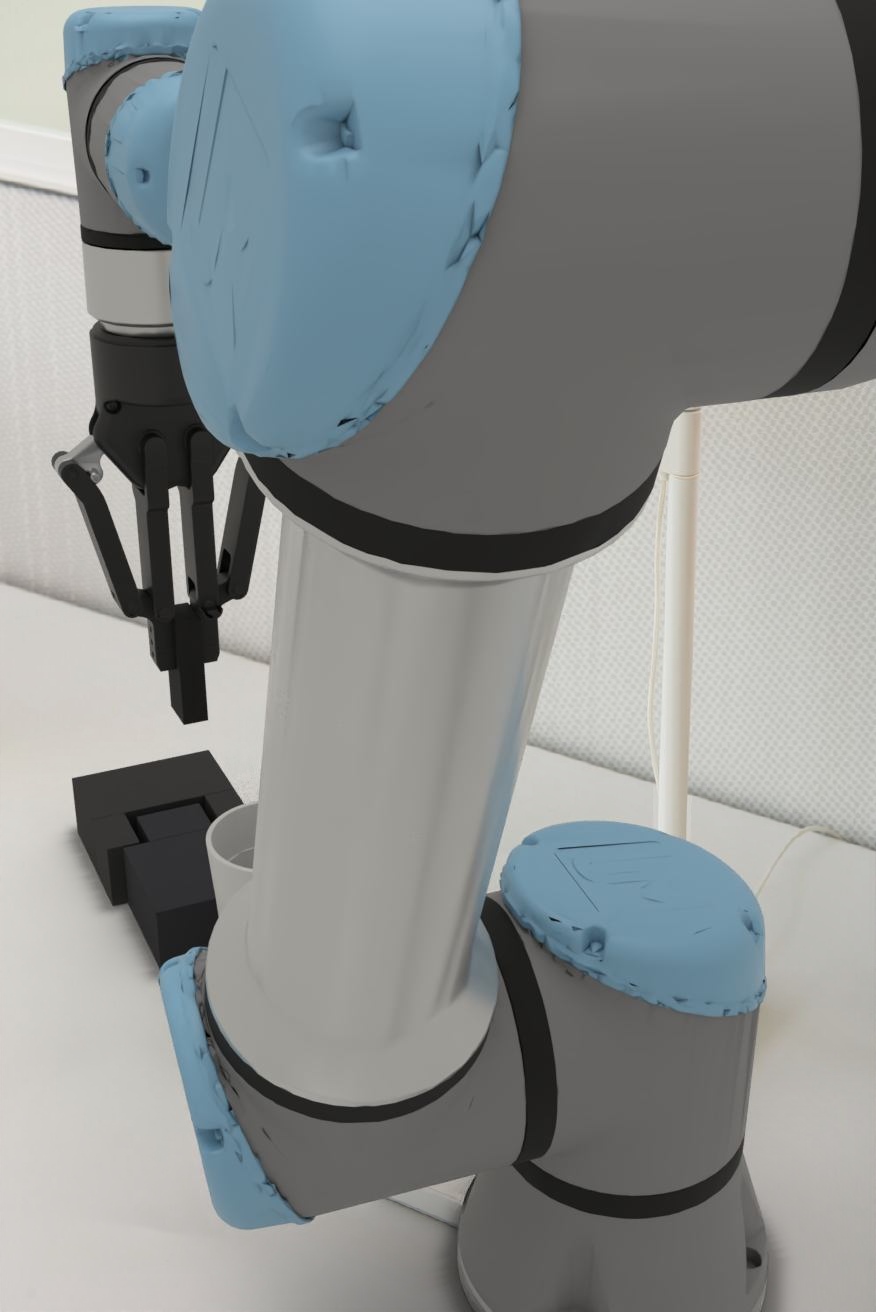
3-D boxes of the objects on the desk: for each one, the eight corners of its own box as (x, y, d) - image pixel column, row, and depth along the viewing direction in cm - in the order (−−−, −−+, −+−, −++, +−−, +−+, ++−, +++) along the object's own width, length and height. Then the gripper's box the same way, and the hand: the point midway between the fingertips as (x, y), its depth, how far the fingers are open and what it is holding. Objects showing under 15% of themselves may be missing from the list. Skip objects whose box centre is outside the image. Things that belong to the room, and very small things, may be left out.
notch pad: (255, 872, 112) (252, 816, 110) (112, 906, 108) (106, 849, 106) (212, 802, 120) (208, 749, 118) (77, 832, 116) (71, 777, 114)
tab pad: (282, 941, 105) (279, 882, 103) (161, 972, 102) (155, 912, 100) (227, 852, 114) (224, 796, 112) (115, 878, 111) (109, 822, 109)
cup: (329, 1051, 95) (324, 880, 90) (199, 1033, 96) (186, 863, 91) (362, 969, 102) (359, 806, 97) (240, 953, 103) (230, 791, 98)
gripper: (254, 292, 92) (272, 668, 102) (22, 315, 87) (66, 707, 97) (299, 321, 86) (314, 718, 96) (52, 347, 81) (96, 763, 91)
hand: (189, 712), depth 97 cm, fingers closed
